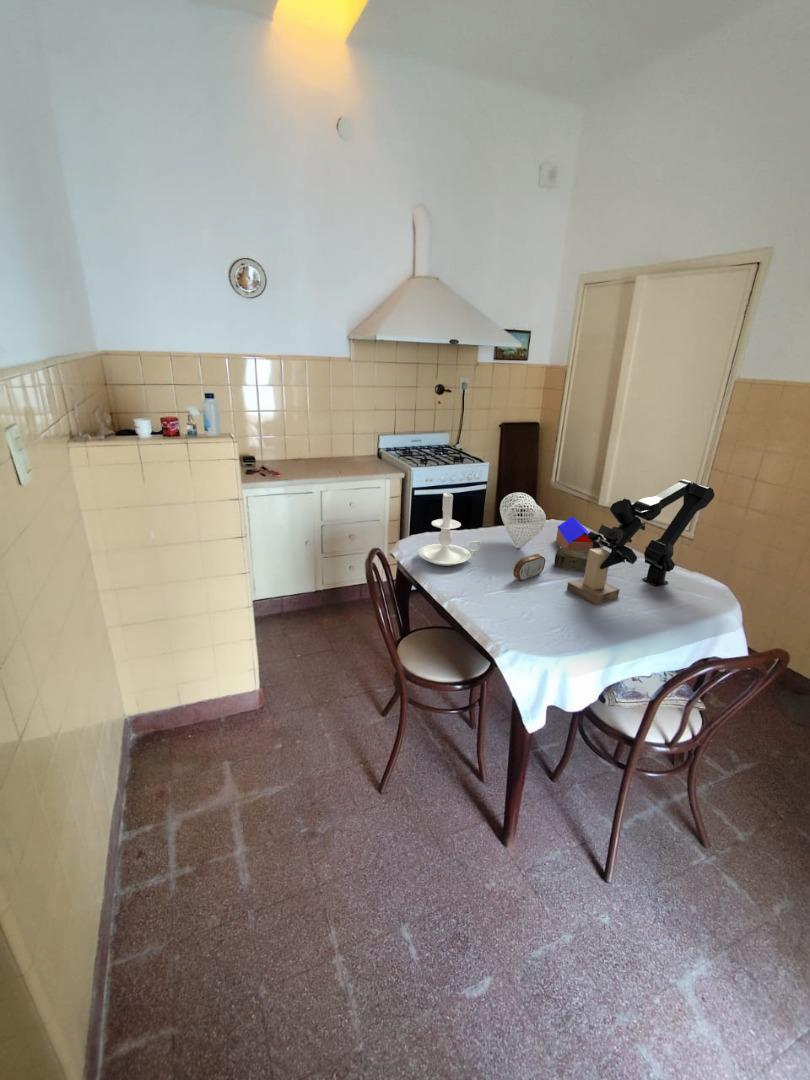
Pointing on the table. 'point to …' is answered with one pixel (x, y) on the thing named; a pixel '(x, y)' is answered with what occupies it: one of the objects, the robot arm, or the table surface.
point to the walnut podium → (593, 592)
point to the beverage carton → (571, 559)
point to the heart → (534, 518)
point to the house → (573, 536)
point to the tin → (529, 567)
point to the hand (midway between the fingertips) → (594, 565)
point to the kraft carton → (596, 568)
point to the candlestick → (446, 540)
